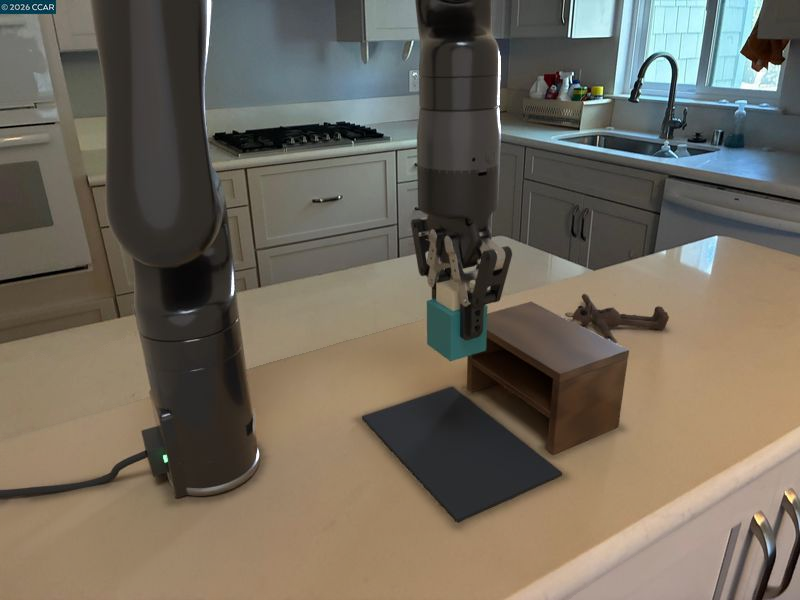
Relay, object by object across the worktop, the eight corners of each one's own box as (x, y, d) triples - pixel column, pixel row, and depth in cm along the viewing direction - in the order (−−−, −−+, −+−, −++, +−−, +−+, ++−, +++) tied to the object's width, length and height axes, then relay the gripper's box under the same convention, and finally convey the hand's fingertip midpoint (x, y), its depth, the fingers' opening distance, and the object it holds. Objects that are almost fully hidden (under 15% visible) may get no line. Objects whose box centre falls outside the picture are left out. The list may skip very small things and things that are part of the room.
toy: (450, 361, 61) (451, 296, 58) (426, 344, 64) (426, 282, 62) (486, 350, 63) (488, 287, 60) (461, 334, 66) (462, 273, 64)
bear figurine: (689, 334, 85) (584, 325, 85) (681, 361, 87) (578, 353, 87) (646, 286, 102) (559, 279, 102) (640, 310, 103) (554, 302, 103)
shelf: (552, 455, 66) (560, 374, 62) (466, 389, 79) (468, 318, 75) (618, 427, 71) (629, 349, 67) (526, 368, 83) (531, 301, 80)
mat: (457, 522, 57) (457, 519, 57) (361, 418, 73) (361, 415, 73) (562, 475, 63) (562, 472, 63) (452, 388, 79) (452, 386, 79)
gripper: (384, 152, 60) (390, 312, 67) (470, 177, 48) (467, 367, 55) (448, 145, 63) (448, 297, 70) (543, 166, 52) (531, 346, 59)
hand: (456, 327), depth 63 cm, fingers closed on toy, 4 cm apart
